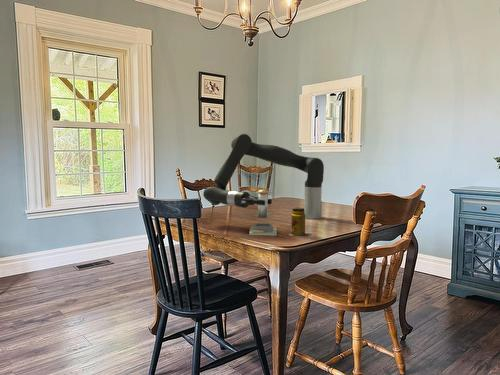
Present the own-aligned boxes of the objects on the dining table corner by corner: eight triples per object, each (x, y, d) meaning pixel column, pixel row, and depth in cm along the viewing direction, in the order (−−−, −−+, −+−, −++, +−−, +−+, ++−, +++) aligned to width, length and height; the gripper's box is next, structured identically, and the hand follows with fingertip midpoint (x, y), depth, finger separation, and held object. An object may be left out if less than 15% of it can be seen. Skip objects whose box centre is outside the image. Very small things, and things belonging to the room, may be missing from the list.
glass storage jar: (268, 216, 175) (268, 190, 174) (267, 218, 170) (268, 191, 169) (257, 216, 175) (258, 190, 174) (257, 217, 171) (257, 191, 169)
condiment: (287, 235, 169) (287, 208, 167) (297, 232, 175) (298, 206, 174) (301, 237, 164) (301, 210, 163) (311, 234, 170) (312, 207, 169)
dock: (276, 229, 179) (276, 222, 179) (276, 235, 167) (276, 227, 167) (250, 229, 180) (250, 222, 179) (249, 235, 168) (249, 227, 168)
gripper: (228, 192, 175) (258, 195, 165) (247, 189, 186) (277, 192, 176) (228, 208, 176) (258, 212, 165) (247, 205, 187) (276, 208, 177)
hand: (267, 202), depth 171 cm, fingers closed on glass storage jar, 4 cm apart
